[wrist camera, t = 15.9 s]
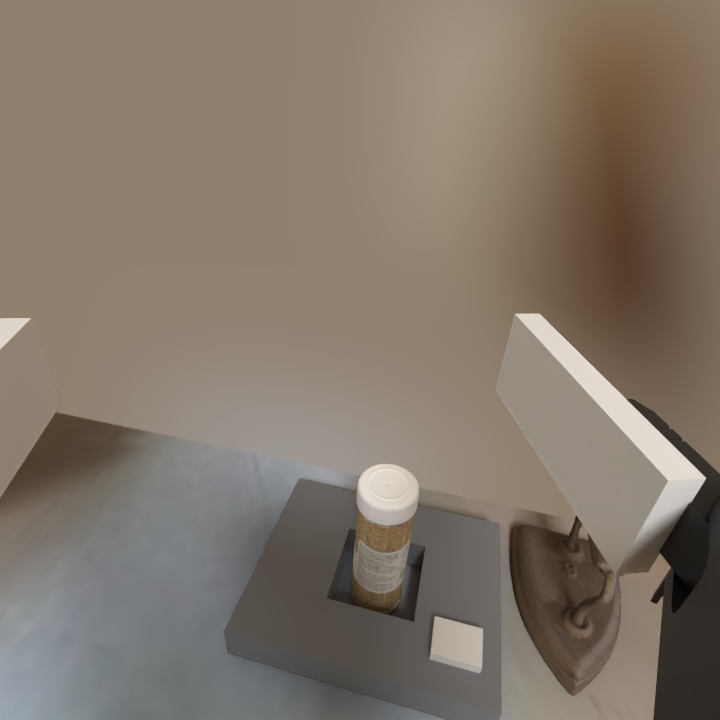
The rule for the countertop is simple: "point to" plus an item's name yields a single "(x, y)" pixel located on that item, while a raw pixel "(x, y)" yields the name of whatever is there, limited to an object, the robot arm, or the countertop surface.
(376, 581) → the sprinkles bottle
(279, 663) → the socket plate
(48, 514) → the countertop surface
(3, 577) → the countertop surface
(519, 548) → the clothes iron
